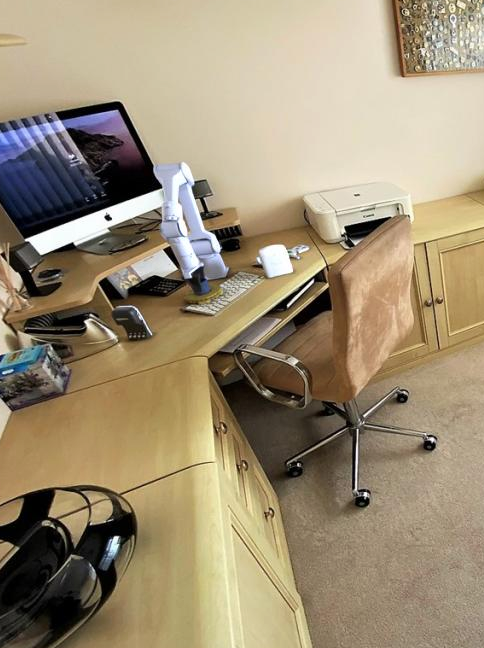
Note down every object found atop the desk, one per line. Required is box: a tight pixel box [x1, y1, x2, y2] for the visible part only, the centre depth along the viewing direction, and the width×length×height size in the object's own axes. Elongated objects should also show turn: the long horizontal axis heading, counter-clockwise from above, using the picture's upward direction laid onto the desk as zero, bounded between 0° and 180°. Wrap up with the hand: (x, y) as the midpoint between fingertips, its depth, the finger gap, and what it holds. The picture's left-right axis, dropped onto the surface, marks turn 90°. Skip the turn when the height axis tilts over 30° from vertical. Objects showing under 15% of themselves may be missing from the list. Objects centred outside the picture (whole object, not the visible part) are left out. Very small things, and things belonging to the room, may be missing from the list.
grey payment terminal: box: [110, 305, 154, 341], centre depth 135 cm, size 7×4×11 cm, turn 92°
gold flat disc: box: [183, 283, 224, 306], centre depth 160 cm, size 12×12×2 cm
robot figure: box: [255, 244, 310, 266], centre depth 189 cm, size 16×3×22 cm
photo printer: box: [258, 244, 294, 279], centre depth 171 cm, size 10×4×12 cm, turn 123°
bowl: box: [190, 278, 211, 295], centre depth 158 cm, size 6×6×4 cm
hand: (200, 287), depth 158 cm, fingers closed on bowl, 6 cm apart
